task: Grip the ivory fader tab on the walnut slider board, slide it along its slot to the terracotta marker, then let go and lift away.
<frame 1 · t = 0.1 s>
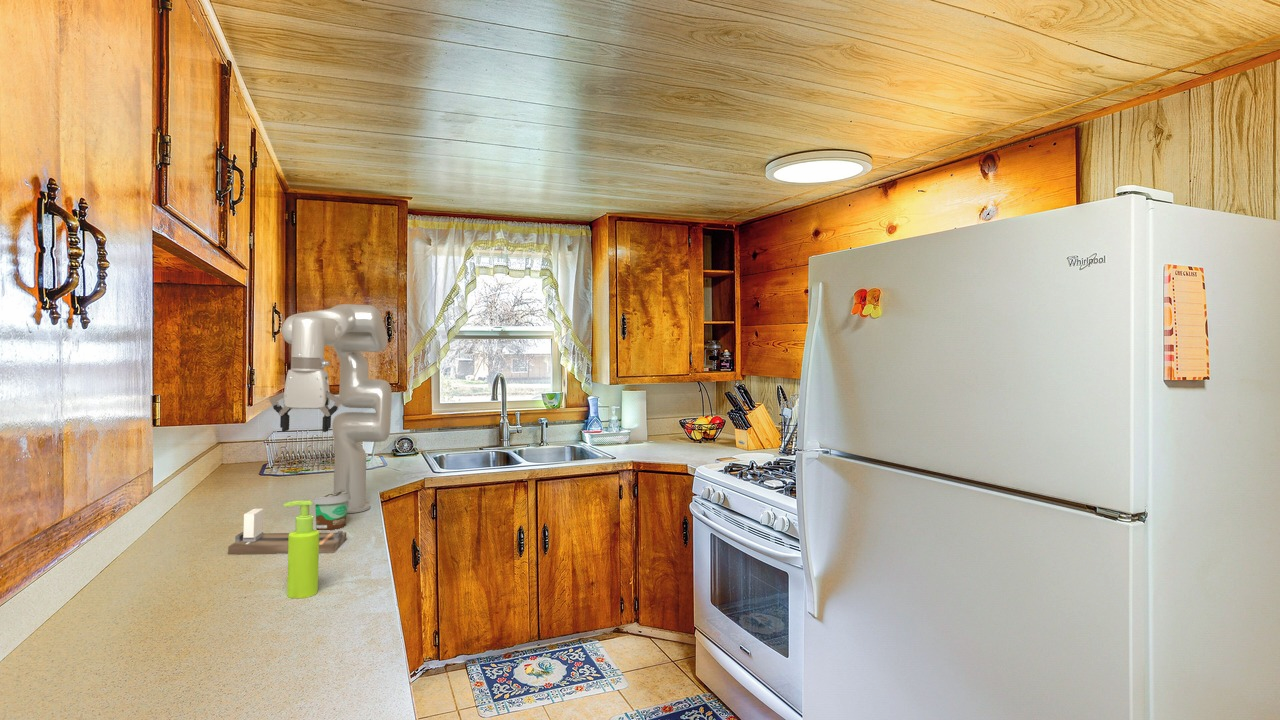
hand: (305, 431, 171), 31 cm above the countertop, tool pointing down, fingers open, 9 cm apart
slider board: (289, 546, 175), on the countertop
fader: (253, 525, 173), point 6 cm above the countertop, slide at 0.0 cm
food container: (336, 528, 195), on the countertop
soap dispenser: (299, 594, 143), on the countertop
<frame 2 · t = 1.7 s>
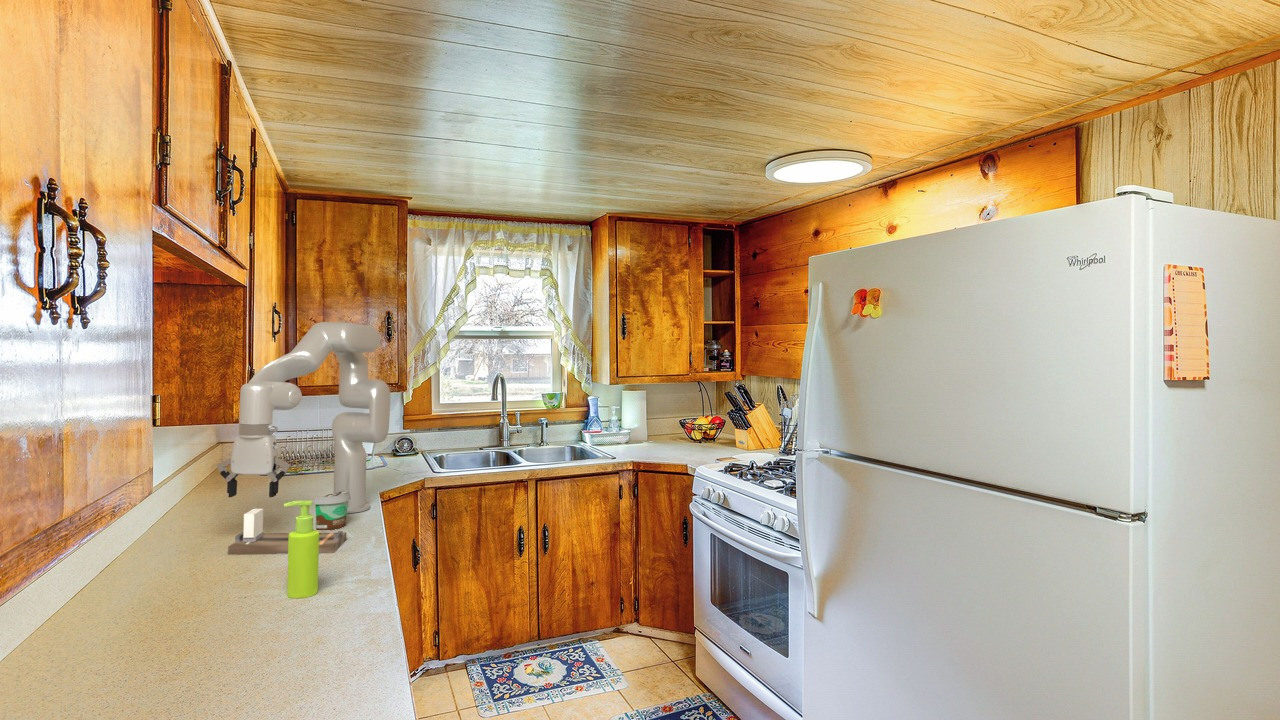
hand: (252, 496, 173), 13 cm above the countertop, tool pointing down, fingers open, 9 cm apart
nothing on the countertop moved.
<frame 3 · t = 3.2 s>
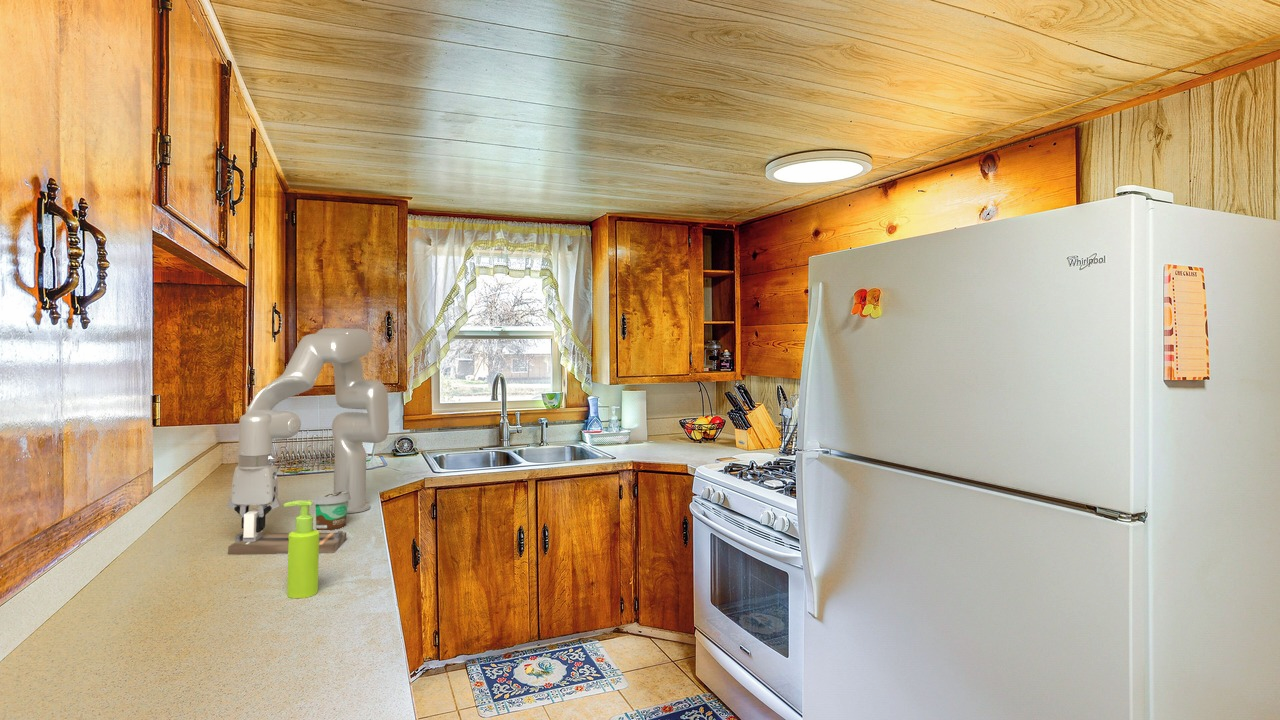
hand: (253, 530, 173), 4 cm above the countertop, tool pointing down, fingers closed on fader, 2 cm apart
fader: (253, 525, 173), point 6 cm above the countertop, slide at 0.0 cm, touching gripper
everything else where it was.
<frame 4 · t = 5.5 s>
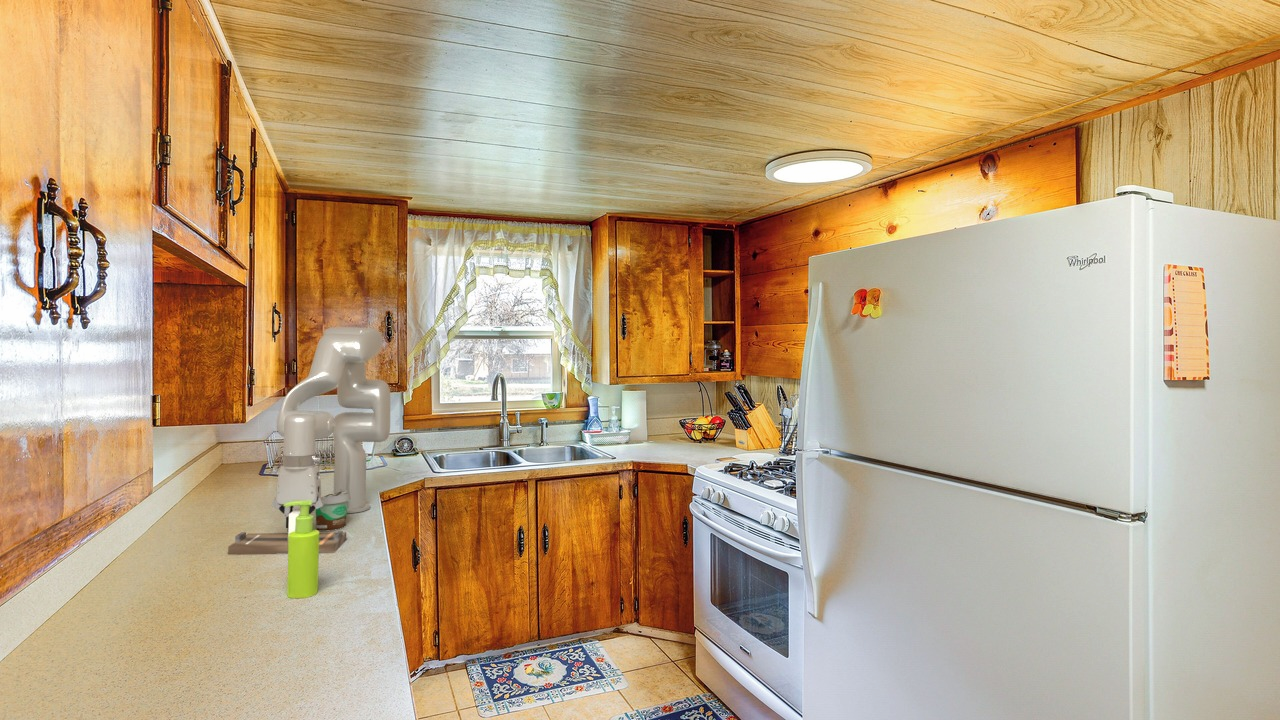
hand: (297, 530, 175), 4 cm above the countertop, tool pointing down, fingers closed on fader, 2 cm apart
fader: (297, 524, 175), point 6 cm above the countertop, slide at 10.7 cm, touching gripper
everything else where it was.
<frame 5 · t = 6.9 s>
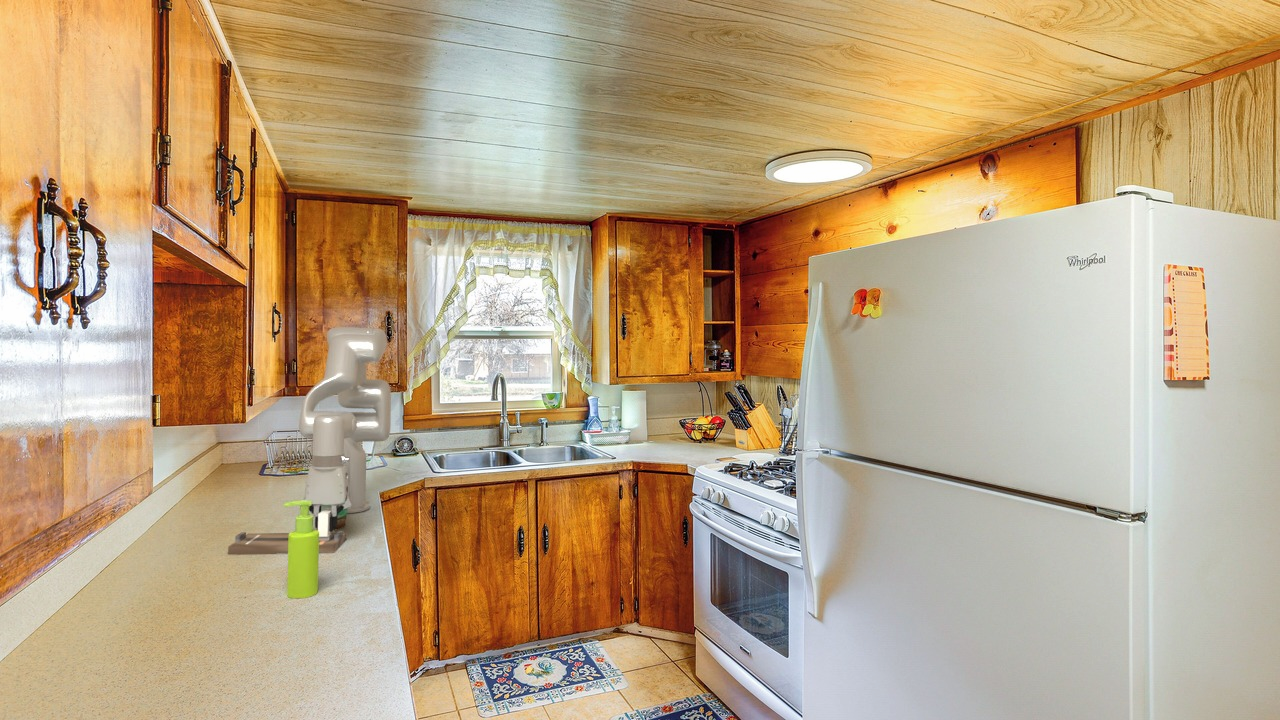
hand: (326, 529, 176), 4 cm above the countertop, tool pointing down, fingers closed on fader, 2 cm apart
fader: (326, 524, 176), point 6 cm above the countertop, slide at 17.9 cm, touching gripper
everything else where it was.
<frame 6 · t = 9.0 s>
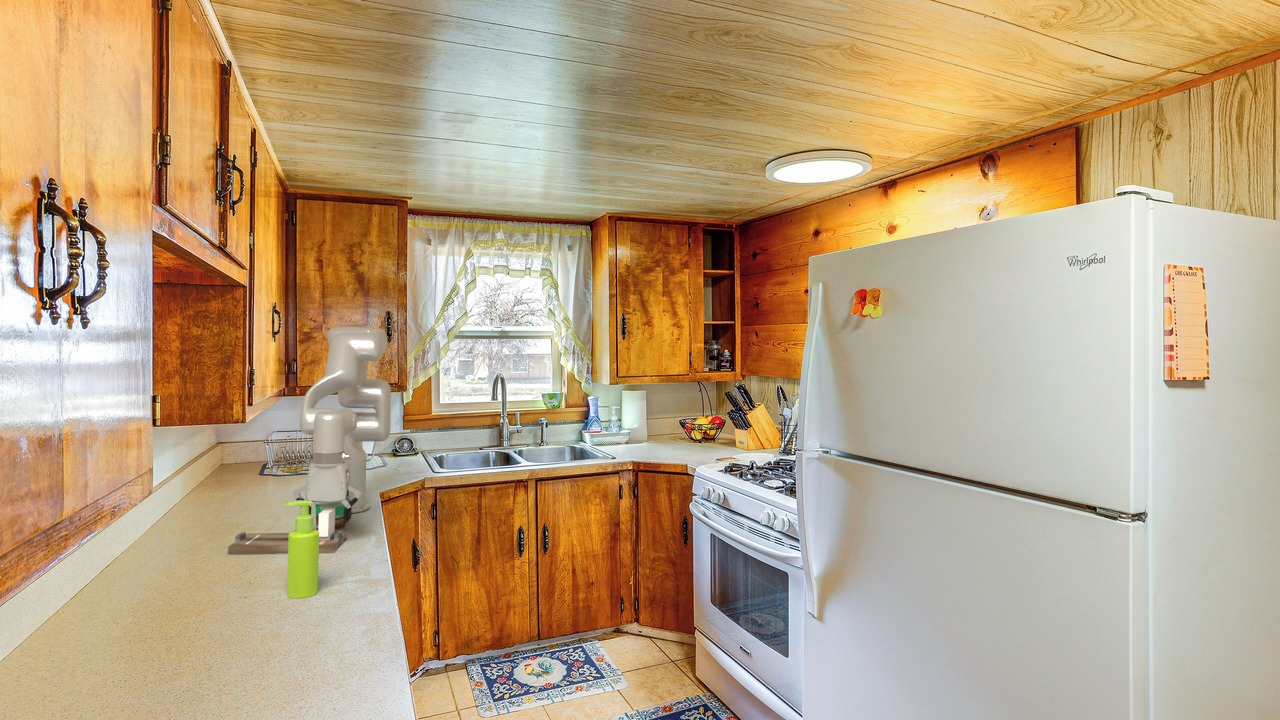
hand: (327, 522, 177), 6 cm above the countertop, tool pointing down, fingers open, 9 cm apart
fader: (326, 524, 176), point 6 cm above the countertop, slide at 18.0 cm
everything else where it was.
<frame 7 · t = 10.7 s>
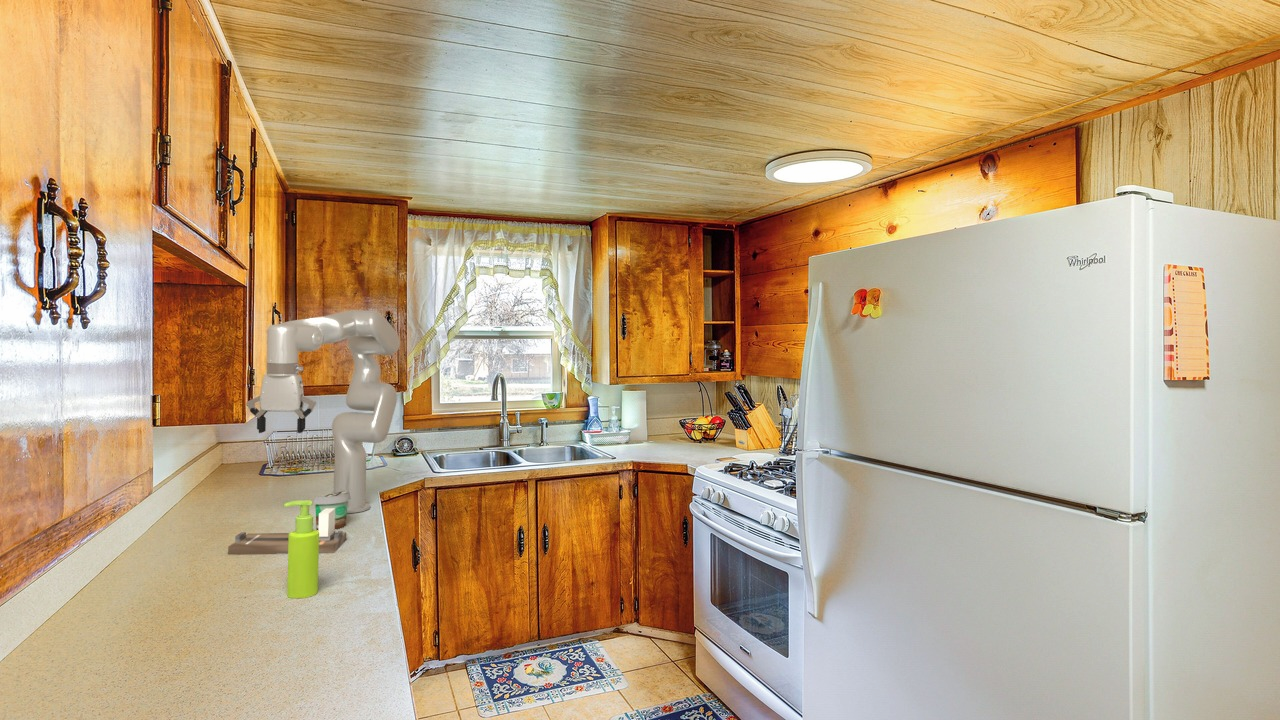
hand: (281, 432, 182), 29 cm above the countertop, tool pointing down, fingers open, 9 cm apart
nothing on the countertop moved.
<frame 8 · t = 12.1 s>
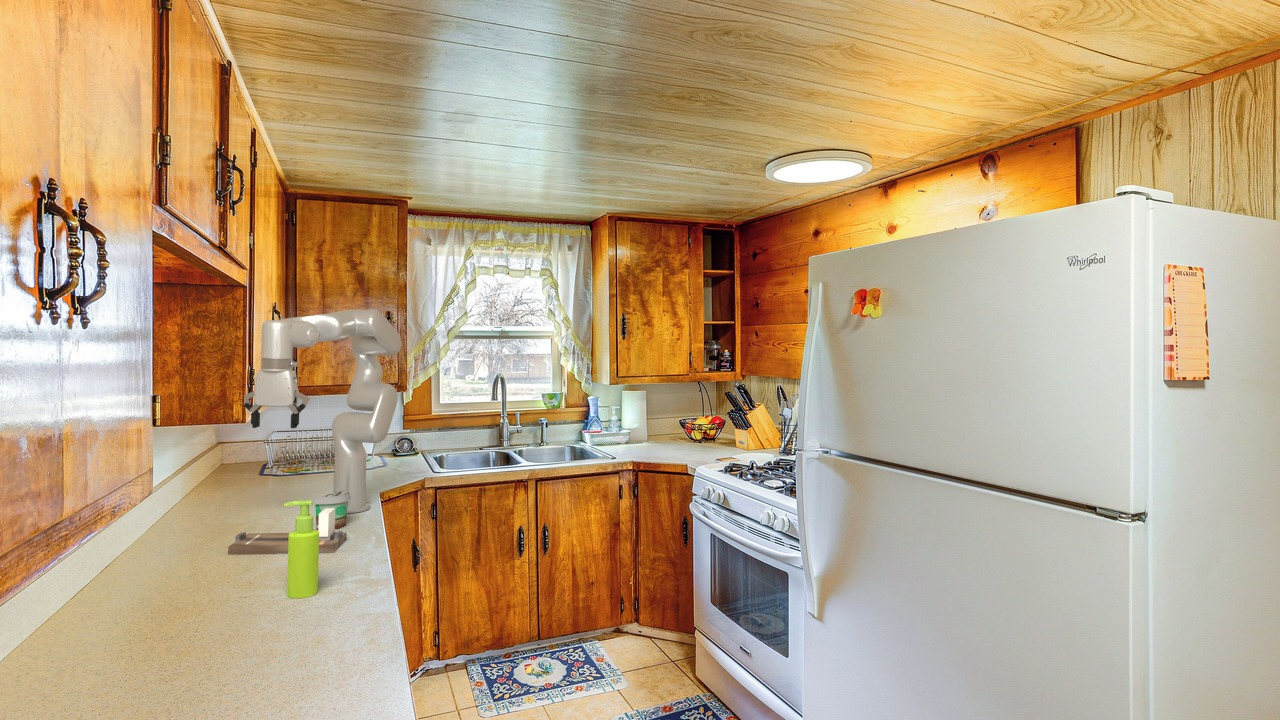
hand: (275, 427, 182), 30 cm above the countertop, tool pointing down, fingers open, 9 cm apart
nothing on the countertop moved.
at the end: fader slide at 18.0 cm; the gripper is holding nothing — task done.
